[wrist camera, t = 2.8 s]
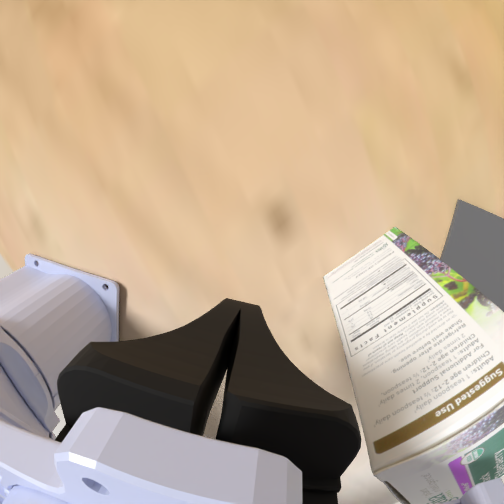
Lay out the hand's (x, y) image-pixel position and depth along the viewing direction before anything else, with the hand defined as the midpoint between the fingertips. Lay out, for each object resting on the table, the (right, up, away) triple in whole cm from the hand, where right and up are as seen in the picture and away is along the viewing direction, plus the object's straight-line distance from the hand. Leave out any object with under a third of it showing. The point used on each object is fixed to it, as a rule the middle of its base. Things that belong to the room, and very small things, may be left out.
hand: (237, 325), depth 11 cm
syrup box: (+9, +1, +8) cm, 12 cm away
